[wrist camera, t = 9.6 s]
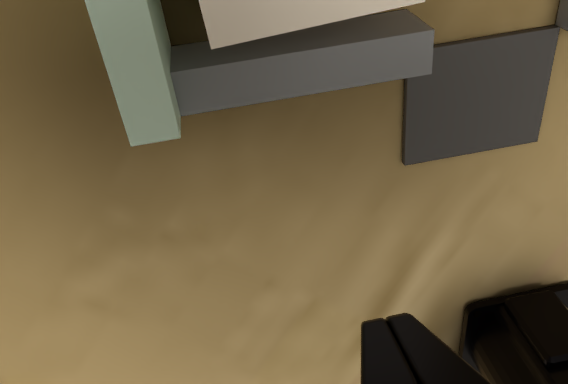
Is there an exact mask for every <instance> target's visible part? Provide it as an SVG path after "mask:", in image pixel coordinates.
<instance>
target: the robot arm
mask: <svg viewBox="0 0 568 384" xmlns="http://www.w3.org/2000/svg"><path fill="white" fill-rule="evenodd" d="M361 384H568V283H567V284H562V285H557V286H552V287H547V288H543V289H538V290H533V291H528V292H523V293H518V294H513V295H508V296H504V297H499V298H494V299H489V300H484V301H479V302H474V303H471V304H470V305H468V306H467V307H466V309H465V313H464V320H463V327H462V334H461V342H460V349H459V355H458V354H457V353H455V352H454V351H453V350H452V349H451V348H450V347H448V346H447V345H446V344H445V343H444V342H443V341H441V340H440V339H439V338H438V337H437V336H436V335H434V334H433V333H432V332H431V331H430V330H429V329H427V328H426V327H425V326H424V325H423V324H421V323H420V322H419V321H418V320H417V319H416V318H414V317H413V316H412V315H411V314H408V313H402V314H397V315H392V316H388V317H387V318H386V319H383V318H378V319H373V320H368V321H364V322H362V324H361Z"/></svg>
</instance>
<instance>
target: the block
mask: <svg viewBox="0 0 568 384" xmlns="http://www.w3.org/2000/svg"><path fill="white" fill-rule="evenodd" d="M422 2H425V0H199V4H200V8H201V12H202V16H203V20H204V23H205V27H206V31H207V35H208V39H209V43H210V47H211V49H216V48H220V47H225V46H229V45H234V44H238V43H243V42H247V41H251V40H256V39H260V38H265V37H269V36H274V35H278V34H283V33H287V32H292V31H296V30H301V29H305V28H310V27H314V26H319V25H323V24H328V23H332V22H337V21H341V20H346V19H350V18H355V17H359V16H363V15H368V14H372V13H377V12H381V11H386V10H390V9H395V8H399V7H404V6H408V5H413V4H417V3H422Z"/></svg>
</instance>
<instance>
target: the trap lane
mask: <svg viewBox="0 0 568 384" xmlns="http://www.w3.org/2000/svg"><path fill="white" fill-rule="evenodd" d="M85 4H86V7H87V10H88V13H89V16H90V19H91V23H92V26H93V29H94V32H95V35H96V38H97V42H98V45H99V48H100V51H101V54H102V57H103V60H104V64H105V67H106V70H107V73H108V76H109V79H110V83H111V86H112V89H113V92H114V95H115V98H116V101H117V105H118V108H119V111H120V114H121V117H122V120H123V124H124V127H125V130H126V133H127V136H128V139H129V142H130V146H131V147H132V146H138V145H143V144H149V143H155V142H161V141H167V140H172V139H178V138H181V116H186V115H192V114H198V113H204V112H210V111H216V110H222V109H228V108H234V107H239V106H245V105H251V104H257V103H263V102H269V101H275V100H281V99H287V98H293V97H299V96H304V95H310V94H316V93H322V92H328V91H334V90H340V89H346V88H352V87H358V86H364V85H369V84H375V83H381V82H387V81H393V80H399V79H405V81H404V115H403V149H402V163H403V164H404V166H405V165H411V164H416V163H422V162H427V161H432V160H438V159H443V158H449V157H454V156H460V155H465V154H471V153H476V152H482V151H487V150H493V149H498V148H504V147H509V146H515V145H520V144H526V143H531V142H537V140H538V135H539V130H540V125H541V120H542V115H543V110H544V105H545V100H546V95H547V90H548V85H549V80H550V75H551V70H552V65H553V60H554V55H555V50H556V45H557V40H558V35H559V30H560V27H561V28H563V29H565V30H567V31H568V0H560V4H559V9H558V14H557V19H556V25H551V26H545V27H539V28H533V29H527V30H521V31H515V32H509V33H503V34H497V35H491V36H485V37H479V38H473V39H467V40H461V41H454V42H448V43H442V44H436V45H434V29H433V28H431V27H430V26H429V25H427V24H426V23H425V22H423V21H422V20H421V19H419V18H418V17H417V16H415V15H414V14H413V13H411V12H410V11H408V10H407V9H404V10H398V11H392V12H386V13H379V14H373V15H367V16H360V17H355V18H350V19H346V20H341V21H337V22H332V23H328V24H323V25H319V26H314V27H310V28H305V29H301V30H296V31H292V32H287V33H283V34H278V35H274V36H269V37H265V38H260V39H256V40H251V41H247V42H243V43H238V44H234V45H229V46H225V47H220V48H216V49H211V47H210V43H209V41H203V42H197V43H190V44H184V45H178V46H172V47H171V44H170V39H169V35H168V31H167V27H166V23H165V18H164V14H163V10H162V6H161V1H160V0H85Z"/></svg>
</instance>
